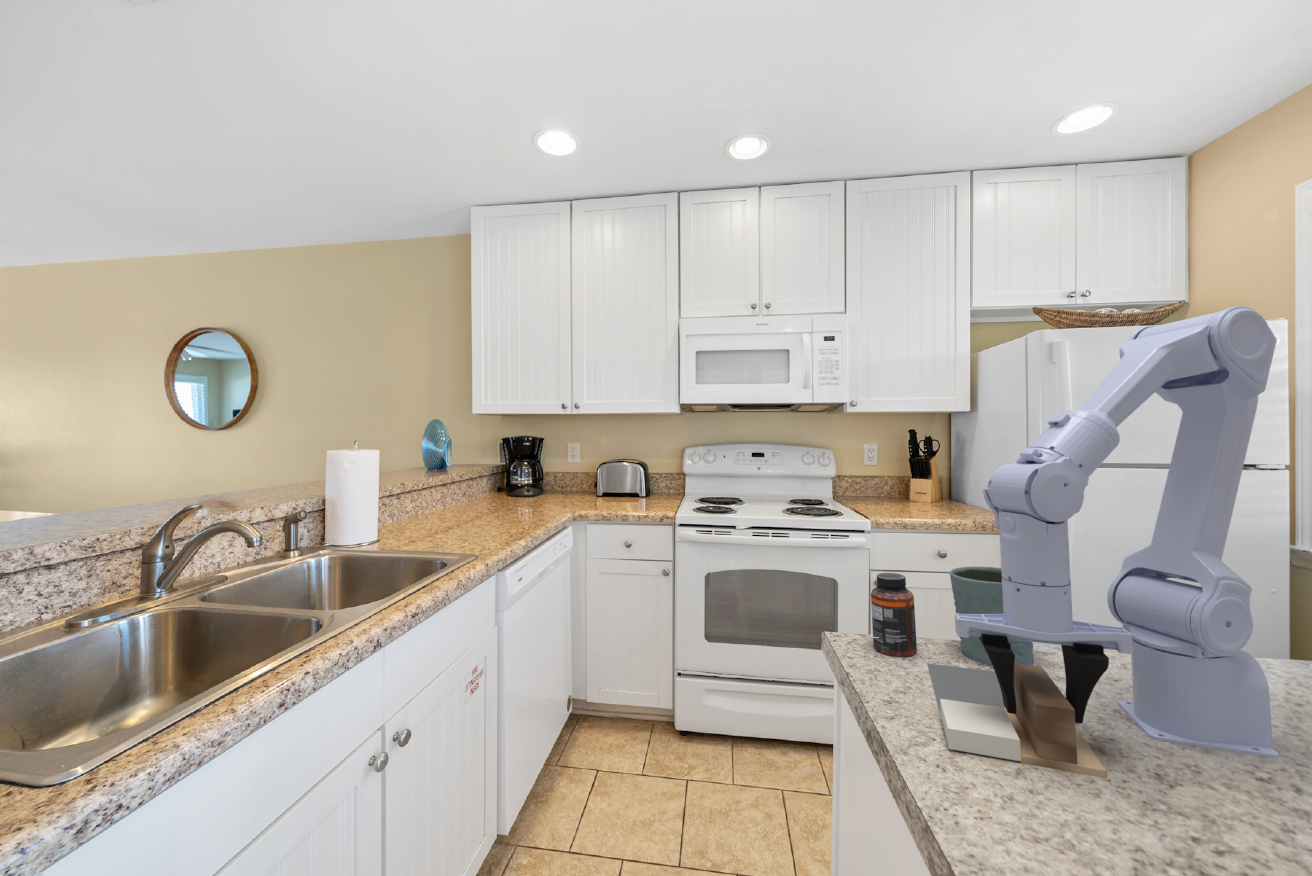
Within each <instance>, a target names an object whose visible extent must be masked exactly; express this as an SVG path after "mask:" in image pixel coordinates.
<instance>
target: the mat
mask: <svg viewBox="0 0 1312 876" xmlns="http://www.w3.org/2000/svg"><path fill="white" fill-rule="evenodd" d="M926 665H927V668H928V671H929V675H930V680H931V683H932V687H933V693H934V696H935V700H936V704H937V708H938V712H939V716H940V720H941V725H942V729H943V733H944V736H945V740H946V745H947V746H948V743H947V739H946V735H945V731H944V727H943V723H942V719H941V708H940V699H946V700H953V701H960V702H967V703H974V704H981V705H988V706H995V707H1003V708H1005V706H1004V703H1003V697H1002V692H1001V688H1000V685H999V682H998V679H997V676H996V673H995V671H994V670H987V669H985V670H984V669H977V668H970V667H961V666H953V665H952V666H951V665H944V664H936V663H927V664H926Z"/></svg>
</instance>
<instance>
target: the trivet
mask: <svg viewBox="0 0 1312 876" xmlns="http://www.w3.org/2000/svg"><path fill="white" fill-rule="evenodd" d="M1002 708H1003V707H1002ZM1004 709H1005V711H1006V713H1007V715H1008V717H1009V719H1010V721H1011V723H1012V725H1013V727H1014V729H1015V731H1016V733H1017V735H1018V737H1019V739H1020V753H1021V761H1019V763H1021V764H1025V765H1031V766H1035V767H1040V768H1048V769H1054V770H1058V771H1063V772H1064V771H1065V772H1070V773H1076V774H1081V775H1088V776H1093V777H1097V778H1103V779H1107V778H1108V770H1107V769H1106V767H1105V766H1104V765H1103V763H1102V762H1101V761H1100V759H1099V758H1098V757H1097V755H1096V754H1095V752H1094V751H1093V749H1092V748H1091V747H1090V745H1089V744H1088V743H1087V742H1086V740H1085V739H1084V737H1083V735H1082V734H1081V733H1080V732H1079V730H1078V729H1077V728H1076V746H1077V764H1071V763H1065V762H1059V761H1053V760H1048V759H1042V758H1038V757H1037V755H1036V753H1035V751H1034V749H1033V747H1032V745H1031V744H1030V742H1029V740H1028V738H1027V736H1026V734H1025V732H1024V730H1023V728H1022V726H1021V725H1020V723H1019V721H1018V719H1017V717H1016V715H1015V714H1011V713H1008V712H1007V710H1006V708H1004Z"/></svg>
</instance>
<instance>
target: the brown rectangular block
mask: <svg viewBox="0 0 1312 876" xmlns="http://www.w3.org/2000/svg"><path fill="white" fill-rule="evenodd" d="M1014 690H1015V698H1016V714H1015V715H1016V717H1017V719H1018V721H1019V723H1020V725H1021V726H1022V728H1023V730H1024V732H1025V734H1026V736H1027V738H1028V740H1029V742H1030V744H1031V745H1032V747H1033V749H1034V751H1035V753H1036V755H1037V757H1038V758H1042V759H1048V760H1053V761H1059V762H1065V763H1071V764H1077V746H1076V729H1077V728H1076V723H1075V710H1074V708H1073V707H1072V706H1071V704H1070V703H1069V702H1068V700H1067V699H1066V695H1064V694H1063V692H1062V691H1061V689H1059V687H1058V686H1057V685H1056V683H1055V682H1054V680H1053V679H1052V678H1051V677H1050V675H1049V674H1048V673H1047V672H1046V670H1045V669H1044V667H1043V666H1039V665H1023V664H1014Z"/></svg>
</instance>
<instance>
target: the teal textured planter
mask: <svg viewBox="0 0 1312 876" xmlns="http://www.w3.org/2000/svg"><path fill="white" fill-rule="evenodd" d="M949 577H950V582H951V583H950V585H951V589H952V594H953V600H954V603H953V604H954V607H955V613H957V614H1004V612H1003V591H1002V573H1001V567H995V566H994V567H993V566H964V567H963V566H962V567H956V568H952V569H951V570H950V571H949ZM959 639H960V641H959V643H960V650H961V653H962V655H963V656H965V657H966V658H968V659H969V660H972V661H973V662H977V663H980V664H982V665H986V666H991V667H993V666H992V663H991V661H990V659H989V657H988V654H987V652H986V650H985V648H984V646H983V644H982V643H981V641H980V639H979V637H977V636H970V637H969V638H966V637H959ZM1008 642H1009V643H1010V644H1011V650H1012V651H1013V653H1014V654H1015V662H1014V664H1023V665H1031V666H1033V663H1034V642H1028V641H1018V640H1008Z"/></svg>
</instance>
